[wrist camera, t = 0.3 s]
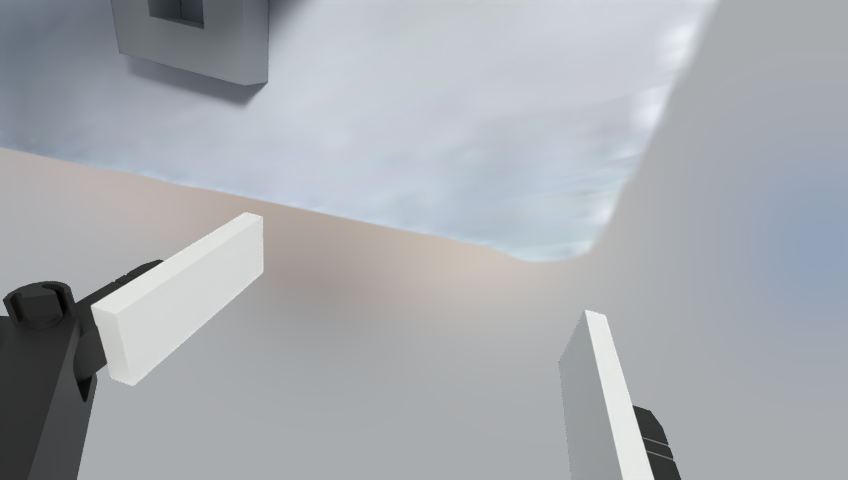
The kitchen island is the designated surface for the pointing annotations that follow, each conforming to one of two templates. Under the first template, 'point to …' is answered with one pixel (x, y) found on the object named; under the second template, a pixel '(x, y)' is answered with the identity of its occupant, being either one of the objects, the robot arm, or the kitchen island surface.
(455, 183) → the kitchen island surface
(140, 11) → the socket block
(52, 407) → the robot arm
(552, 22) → the kitchen island surface
